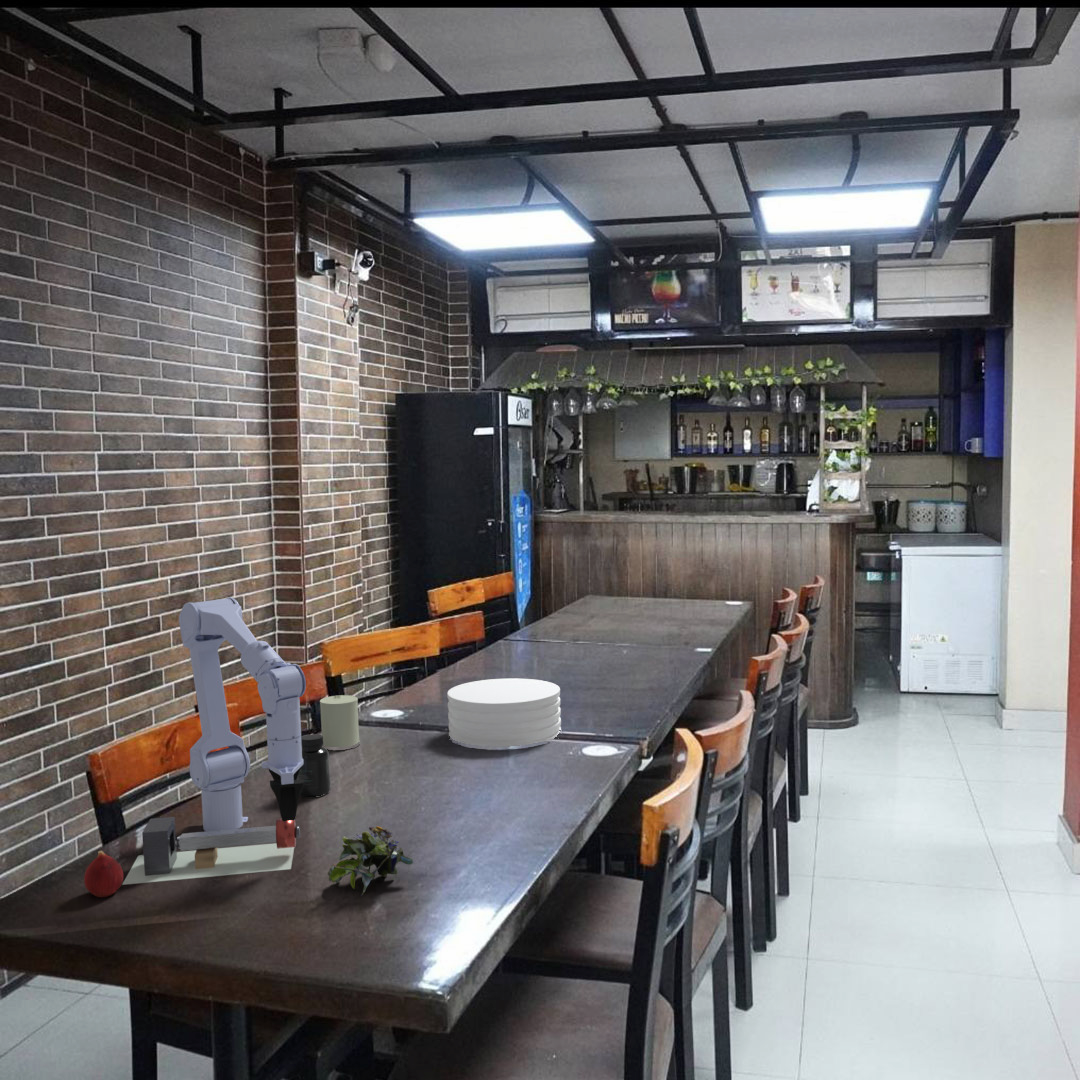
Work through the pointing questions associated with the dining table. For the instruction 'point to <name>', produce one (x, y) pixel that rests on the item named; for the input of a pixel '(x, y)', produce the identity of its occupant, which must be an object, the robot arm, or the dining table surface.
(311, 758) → the supplement bottle
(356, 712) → the can
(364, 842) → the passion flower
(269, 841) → the rod
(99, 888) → the red kuri squash
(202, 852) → the brown rectangular block
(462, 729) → the plate stack
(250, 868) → the board
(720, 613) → the dining table surface
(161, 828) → the block
